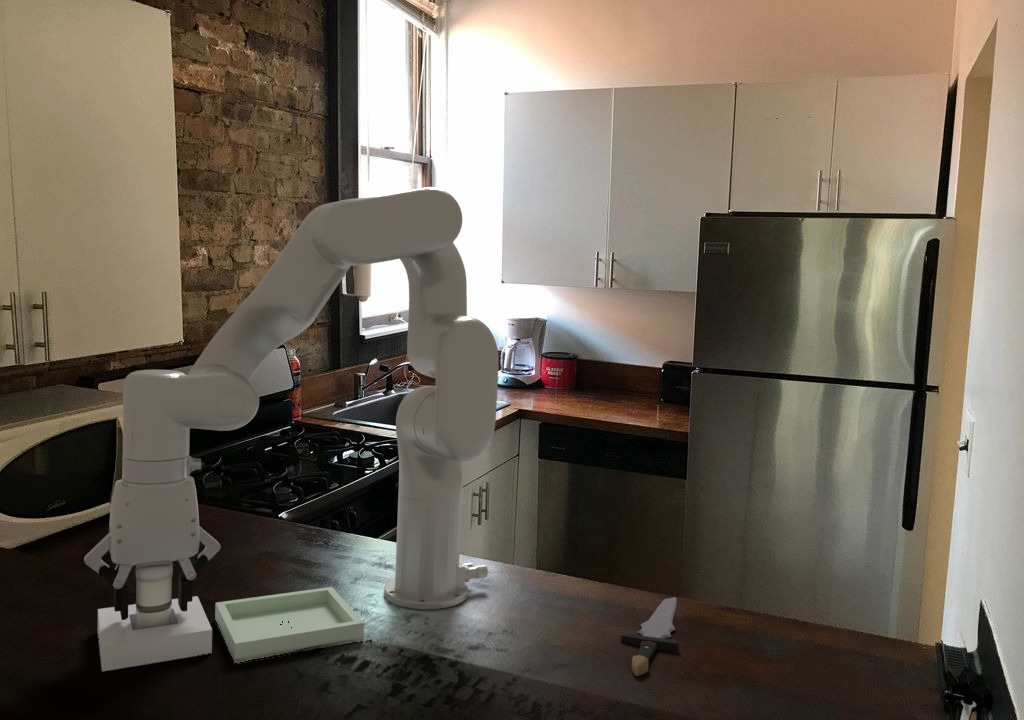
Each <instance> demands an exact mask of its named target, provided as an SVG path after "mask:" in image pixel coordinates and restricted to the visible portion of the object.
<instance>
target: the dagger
mask: <svg viewBox="0 0 1024 720" xmlns="http://www.w3.org/2000/svg"><path fill="white" fill-rule="evenodd" d="M677 601H678V599H677V597H676V596H674V597H669V598H664V599H663V601H662V602H661V603H660V604H659V605H658V606H657V608H656V610H654V612H653V613H652V614H651V616H650V617H649V619H648V620H646V621H644V622H643V623H641V624H640V626H641V629H640V630H638V631H637V633H638V634H635V633H631V632H628V633H624V634H622V635H620V636H621V639H620V642H621V643H622V644H626V645H630V646H635V647H639V650H638V653H637V655H633V656H632V658H631V671H632V672H633V673H632V674H634V676H636V677H640V676H642V675H644V674H646V673H648V671H649V661H650V659H651V658H652V656H653V655H654V654H655V653H656V651H662V652H667V653H677V654H679V652H680V651H679V649H680V648H679V647H680V644H679V642H678V641H677V640H676V639H673V638H671V637H672V635H671V632H673V631H675V630H676V628H675V627H674V624H673V620H674V617H675V616H674V615H675V612H676V609H677Z"/></svg>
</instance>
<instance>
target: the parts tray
mask: <svg viewBox="0 0 1024 720" xmlns="http://www.w3.org/2000/svg"><path fill="white" fill-rule="evenodd" d="M214 607H215V608H214V609H215V610H214V611H215V612H214V616H215V618H214V621H215V620H216V622H217V624H218V626H217V628H218V627H219V628H218V630H219V629H220V630H219V632H220V631H221V633H220V635H221V634H222V635H221V637H222V636H223V637H222V639H223V638H224V639H223V641H224V640H225V641H224V643H226V644H225V645H227V646H226V648H227V647H228V648H227V651H228V652H229V654H231V655H230V656H232V657H231V659H232V658H233V659H232V661H233V660H234V661H233V663H234V664H235V663H237V664H241V663H240V662H243V663H245V662H244V661H248V660H252V659H257V658H258V659H259V658H264V657H269V656H273V655H280V654H284V653H289V652H293V651H296V650H300V649H304V648H308V647H313V646H318V645H325V644H332V643H342V642H347V641H348V642H349V641H359V640H363V641H364V636H365V634H364V631H365V622H364V621H363V620H362V619H361V617H359V615H358V614H357V613H356V612H355V611H354V610H353V609H352V607H351V606H350V605H349V604H348V603H347V602H346V601H345V599H344V598H343V597H342V596H341V595H340V594H339V593H338V592H337V591H336V589H334V587H333V586H329V587H323V588H322V587H321V588H314V589H305V590H299V591H291V592H290V591H289V592H285V593H276V594H270V595H262V596H256V597H255V596H254V597H247V598H241V599H232V600H227V601H226V600H225V601H224V600H223V601H218V602H215V605H214ZM282 621H283V623H282ZM288 621H289V623H288ZM216 622H215V623H216ZM217 624H216V625H217ZM280 624H282V625H280ZM291 627H292V628H291Z"/></svg>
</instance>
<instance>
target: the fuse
mask: <svg viewBox="0 0 1024 720" xmlns="http://www.w3.org/2000/svg"><path fill="white" fill-rule="evenodd" d="M173 562H174V561H167V562H158V563H149V564H139V565H135V580H136V594H135V595H136V598H135V599H136V600H135V604H136V630H138V629H145V628H152V627H159V626H166V625H171V606H172V599H173V598H172V590H173V589H172V586H173V585H172V584H173V583H172V580H173V579H172V577H173V574H174V573H173V572H174V568H173V567H174V563H173Z"/></svg>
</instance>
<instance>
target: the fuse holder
mask: <svg viewBox="0 0 1024 720" xmlns="http://www.w3.org/2000/svg"><path fill="white" fill-rule="evenodd" d="M97 639H99V640H98V646H99V647H98V649H99V657H100V667H101V672H106V671H108V672H109V671H114V670H119V669H125V668H131V667H132V668H133V667H139V666H143V665H150V664H155V663H161V662H167V661H173V660H179V659H186V658H191V657H192V658H193V657H198V655H199V656H203V655H204V654H205V655H209V654H210V653H211V654H213V653H212V651H213V628H212V626H211V623H210V622H209V619H208V617H207V615H206V613H205V610H204V608H203V605H202V603H201V601H200V598H199V597H198V595H196V596H193V598H192V602H187V611H185V612H183V611H181V610H180V607H179V604H178V598H172V606H171V625H166V626H159V627H152V628H145V629H138V630H136V603H134V604H128V618H126V620H122V619H121V614H120V611H117V612H115V610H114V606H111V607H104V608H97ZM208 653H209V654H208ZM202 654H203V655H202ZM205 655H204V656H205Z"/></svg>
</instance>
